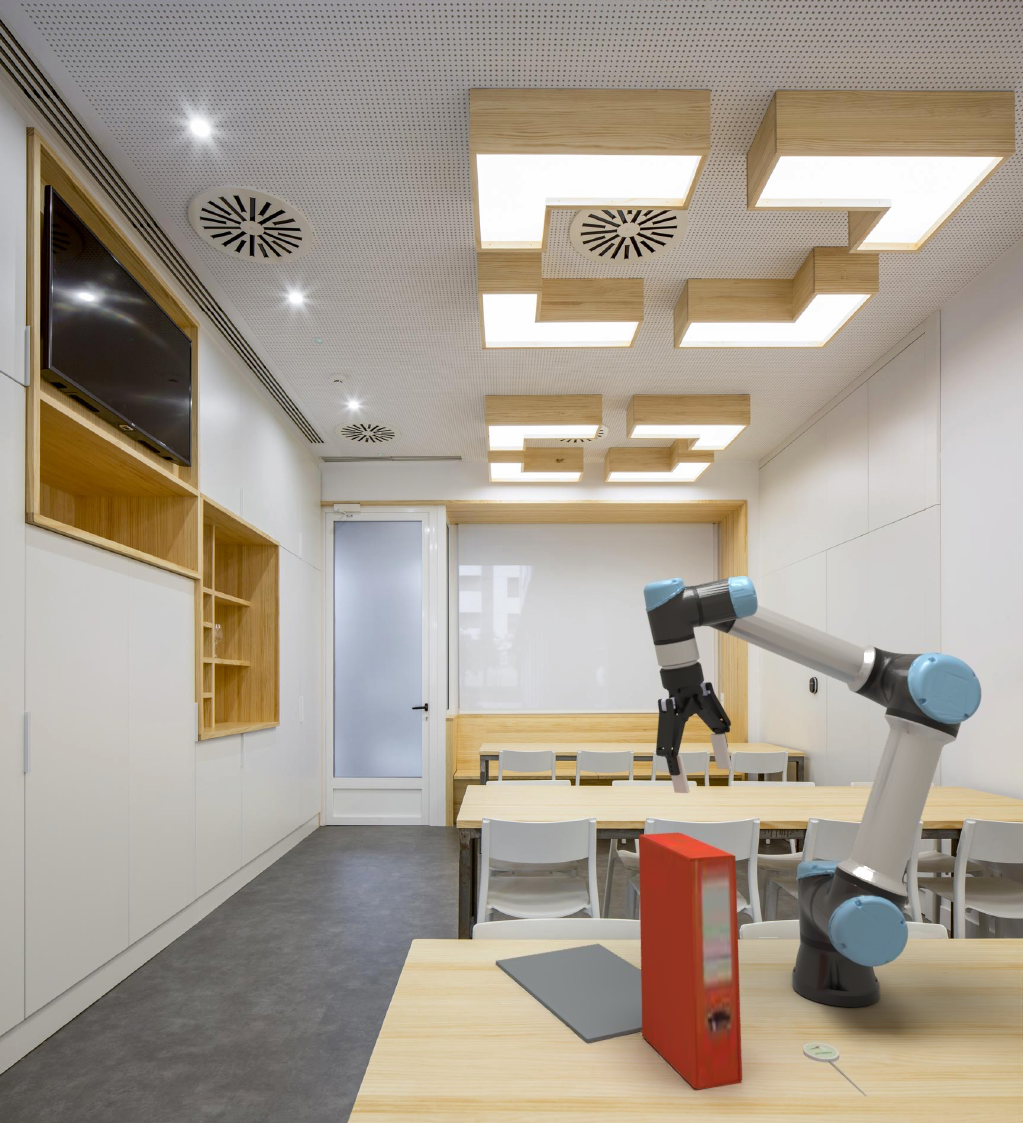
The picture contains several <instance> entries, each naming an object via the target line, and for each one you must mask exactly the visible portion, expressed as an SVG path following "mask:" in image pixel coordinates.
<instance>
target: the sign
mask: <svg viewBox="0 0 1023 1123" xmlns="http://www.w3.org/2000/svg"><path fill="white" fill-rule="evenodd" d="M802 1050H803V1054H804V1056H805V1057H807V1058H808V1059H810V1060H813V1061H815V1062H820V1063H829V1064H830V1065H831V1066H832V1067H833V1069H835V1070H836V1071H837V1072H839V1073H840V1074H841V1075H842V1076H843V1077H844V1078H845V1079H846V1080H847V1081H848V1082H849V1083H850V1084H852V1086H854V1087H855V1088H856V1089H857V1090H858V1091H859V1092H860V1093H861V1094H862V1095H864V1097H867V1094H866V1093H865V1092H864V1091H863V1090H861V1088H859V1086H857V1085H856V1083H854V1082H853V1081H852V1080H851V1079H850V1078H849V1077H848V1076H847V1075H846V1074H845V1073H844V1072H843V1071H842V1070H841V1069H840V1068H839V1067H838V1066H837V1065H836V1064H835V1063H834V1062H837V1061H838V1060H839V1058H840V1053H839V1050H837V1048H835V1047H834V1046H832V1045H829V1044H827V1043H821V1042H809V1043H806V1044H804V1045H803V1048H802Z"/></svg>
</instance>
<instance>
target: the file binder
mask: <svg viewBox="0 0 1023 1123" xmlns="http://www.w3.org/2000/svg"><path fill="white" fill-rule="evenodd" d="M638 850H639V851H638V852H639V853H638V856H639V863H638V864H639V910H640V911H639V915H640V918H639V919H640V920H639V922H640V930H639V931H640V970H641V993H642V1031H641V1036H642V1037H643V1038H644V1040H646V1041H647V1042H648V1043H649V1044H650V1045H651V1046H652V1047H653V1048H654V1049H655V1051H657V1052H658V1053H659V1054H660V1055H661V1056H662V1057H663V1058H664V1060H666V1061H667V1062H668V1063H669V1064H670V1066H672V1067H673V1069H675V1070H676V1072H677V1073H679V1075H680V1076H681V1077H683V1079H684V1080H685V1081H686V1082H687V1083H688V1084H690V1086H691V1087H692V1088H693V1089H696V1090H697V1091H698V1090H703V1089H710V1088H711V1089H712V1088H716V1087H721V1086H722V1087H723V1086H728V1085H736V1084H742V1081H743V1068H742V1067H743V1066H742V1064H743V1063H742V1062H743V1061H742V1058H743V1057H742V1032H741V1031H742V1030H741V1029H742V1028H741V997H740V996H741V994H740V991H741V990H740V967H739V966H740V961H739V932H738V931H739V928H738V897H737V867H736V866H737V865H736V861H737V860H736V855H735V854H732V853H730V852H727V851H725V850H723V849H720V848H718V847H716V846H713V845H710V844H708V843H706V842H704V841H701V840H698V839H697V838H694V837H691V836H689V835H686V834H685V833H682V832H666V833H665V832H663V833H662V832H661V833H649V834H646V833H645V834H639V835H638Z"/></svg>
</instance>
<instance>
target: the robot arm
mask: <svg viewBox="0 0 1023 1123" xmlns="http://www.w3.org/2000/svg"><path fill="white" fill-rule="evenodd" d="M643 596H644V603H645V611H646V615H647V619H648V623H649V629H650V632H651V636H652V642H653V645H654V649H655V654H656V660H657V665H658V666H659V667H662V668H660V669H659V674H660V675H659V676H660V680H661V685H662V688H663V689H664V690H667V692H668V698H658V700H657V706H658V721H657V722H658V723H657V724H658V725H657V733H656V746H655V754H656V756H657V757H664V758H665V759H666V764H667V768H668V774H669V775H670V776H671V777H670V778H671V782H672V785H673V786H672V787H673V791H674V793H679V794H689V793H691V792H690V786H689V781H688V777H687V772H686V767H685V764H684V758H683V754H679V753H680V748H681V743H682V740H683V735H684V731H685V727H686V723H687V722H688V721H689V719H690V717H693V716H694V715H697V716H698V717H699V718H700V720H701V721H702V722H703V723H704V724H705V725H706V727H708V728H709V730H710V731H711V732H713V733H711V734H710V735H709V737H710V740H711V745H712V750H713V755H714V759H715V763H716V764H715V765H716V769H717V770H732V769H733V767H732V762H731V756H730V754H729V753H730V752H729V744H728V740H727V739H728V738H727V736H726V733H728V734H729V733H730V732H731V725H732V722H731V720H730V717H729V715H728V714H727V713H726V711H725V709H724V707H723V705H722V704H721V701H720V700H719V698H718V697H717V695H716V693H715V691H714V687H713V684H712V682H710V681H708V682H707V681H705V677H704V673H703V668H702V667H703V666H702V664H701V663H700V662H699V661H698V660H699V659H700V658H701V657H700V652H699V648H698V647H699V646H698V643H697V639H696V635H695V630H694V629H695V628H700V627H710V628H712V629H715V630H717V631H719V632H722V633H725V634H728V635H730V636H732V637H734V638H737V639H740V640H742V641H744V642H747V643H749V644H751V645H753V646H756V647H759V648H761V649H763V650H766V651H768V652H769V653H770V652H771V653H773V654H776V655H778V656H780V657H783V658H785V659H788V660H790V661H792V662H794V663H797V664H799V665H801V666H804V667H806V668H809V669H812V670H814V671H815V672H819V673H821V674H823V675H826V676H827V677H831V678H833V679H835V680H838V681H840V682H842V683H845V684H846V685H847V688H848V690H849V691H850V692H853V693H855V694H857V695H859V696H861V697H864V698H866V699H868V700H870V701H872V702H874V703H876V704H878V705H880V706H882V707H883V708H886V711H885V713H884V718H885V720H886V722H887V723H888V726H889V733H888V735H887V738H886V742H885V744H884V748H883V751H882V755H881V758H880V761H879V764H878V767H877V770H876V774H875V776H874V780H873V783H872V786H871V790H870V793H869V795H868V798H867V802H866V806H865V809H864V812H863V814H862V818H861V820H860V824H859V828H858V830H857V834H856V837H855V839H854V843H853V847H852V849H851V853H850V856H849V857H848V858H847V859H845V860H827V859H825V860H806V861H802V862H799V864H798V865H797V868H796V870H797V871H796V872H797V873H796V878H795V879H796V880H795V882H797V884H796V885H797V902H798V919H799V920H798V921H799V922H798V923H799V947H798V950H797V955H796V961H795V966H794V967H793V969H792V972H791V978H792V979H791V982H792V984H791V985H792V989H793V990H794V991H795V992H796V993H798V994H799V995H800V996H802V997H804V998H806V999H808V1000H810V1001H813V1002H818V1003H820V1004H825V1005H829V1006H835V1007H843V1008H845V1007H846V1008H847V1007H848V1008H856V1007H857V1008H859V1007H866V1006H870V1005H873V1004H875V1003H877V1002H878V1001H880V998H881V990H880V989H881V988H880V982H879V979H878V977H877V975H876V973H875V970H874V968H875V967H881V966H884V965H887V964H889V963H893V962H894V961H895V960H896V959H898V957H899V956H900V955H901V954H902V953H903V951H904V949H905V948H906V945H907V943H908V938H909V930H908V929H909V928H908V924H907V922H906V918H905V916H904V914H903V911H904V908H905V906H906V902H907V900H908V896H909V893H908V890H907V889H906V887H905V885H904V883H903V877H904V873H905V870H906V868H907V864H908V861H909V857H910V854H911V850H912V848H913V845H914V841H915V839H916V838H915V837H916V834H917V831H918V829H919V824H920V823H921V819H922V816H923V811H924V809H925V806H926V803H927V800H928V796H929V793H930V790H931V786H932V784H933V780H934V777H935V773H936V770H937V767H938V764H939V762H940V761H939V760H940V757H941V754H942V750H943V748H944V746H946V745H949V744H950V743H952V742H955V741H956V739H957V736H958V734H959V730H960V727H961V725H962V723H963V722H965V721H967V720H968V719H970V718H971V717H973V715H975V713H976V712H977V711H978V709H979V707H980V704H981V701H982V687H981V682H980V680H979V678H978V676H977V675H976V672H975V671H974V670H973V668H972V667H971V666H970V665H968V664H967V663H966V662H965V661H964V660H962V659H960V658H959V657H956V656H953V655H950V654H944V653H940V652H926V653H898V652H892V651H888V650H883V649H881V648H878V647H875V646H873V645H865V646H864V647H862V646H859V645H856V644H854V643H851V642H849V641H847V640H845V639H842V638H840V637H837V636H835V635H832V634H830V633H827V632H825V631H822V630H820V629H817V628H816V627H815V628H814V627H813V626H810V625H807V624H805V623H803V622H801V621H799V620H796V619H793V618H790V617H788V616H785V615H783V614H780V613H778V612H776V611H773V610H771V609H768V608H766V607H763V606H762V605H759V604H758V595H757V592H756V589H755V585H754V584H753V581H752V580H751V579H750V578H749V577H748V576H746V575H741V576H740V575H739V576H735V577H734V576H731V577H727V578H723V579H718V580H713V581H710V582H706V583H701V584H698V585H697V584H695V585H690V586H688V585H687V586H686V584H685V583H684V580H683V578H681V577H675V578H670V579H666V580H659V581H654V582H651V583H647V584H646V585H645V586H644V588H643Z"/></svg>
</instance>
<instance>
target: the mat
mask: <svg viewBox="0 0 1023 1123" xmlns="http://www.w3.org/2000/svg"><path fill="white" fill-rule="evenodd" d="M495 965H497V967H499V968H500V969H501V970H502V971H503V972H504V973H506V974H507V975H508V976H509V977H510V978H511V979H512V980H514V982H516V983H518V985H519V986H520V987H522V988H523V989H524V990H525V991H526V992H527V993H528V994H530V995H531V996H532V997H533V998H535V1000H536V1001H538V1002H539V1003H540V1004H541V1005H542V1006H544V1007H545V1009H547V1010H548V1011H550V1013H552V1014H553V1015H554V1016H555V1017H556V1018H558V1019H559V1020H560V1021H561V1022H562V1023H563V1024H564V1025H565V1026H567V1027H568V1028H569V1029H570V1030H572V1032H574V1034H576V1035H577V1036H579V1037H580V1039H582V1040H583V1041H584V1042H585V1043H587V1044H589V1043H590V1044H592V1043H595V1042H599V1041H604V1040H608V1039H613V1038H616V1037H622V1036H625V1035H627V1036H628V1035H632V1034H635V1033H636V1034H637V1033H640V1032H642V993H641V968H638V967H637V966H635V965H633V964H632V963H630V962H629V961H627V960H625V959H624V958H622V957H621V956H619V955H618V954H616V953H614V952H612V951H611V950H610V949H608V948H607V947H606V946H603V945H601V944H600V943H595V944H589V945H582V946H577V947H570V948H564V949H559V950H551V951H547V952H540V953H533V954H529V955H523V956H517V957H512V958H511V957H509V958H504V959H498V960H495Z"/></svg>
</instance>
